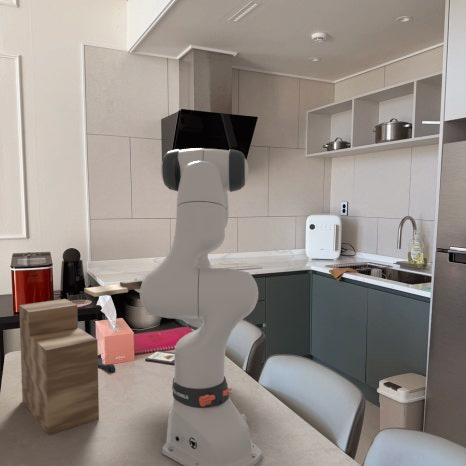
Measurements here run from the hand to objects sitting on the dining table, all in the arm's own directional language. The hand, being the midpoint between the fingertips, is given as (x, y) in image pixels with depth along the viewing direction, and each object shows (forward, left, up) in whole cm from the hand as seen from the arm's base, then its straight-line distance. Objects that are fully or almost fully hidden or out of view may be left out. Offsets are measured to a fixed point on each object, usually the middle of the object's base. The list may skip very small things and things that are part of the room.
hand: (138, 282), depth 123 cm
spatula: (0, +3, -1) cm, 4 cm away
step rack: (+3, +21, -31) cm, 38 cm away
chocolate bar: (+15, -21, -32) cm, 41 cm away
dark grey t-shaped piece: (+25, +1, -32) cm, 41 cm away
